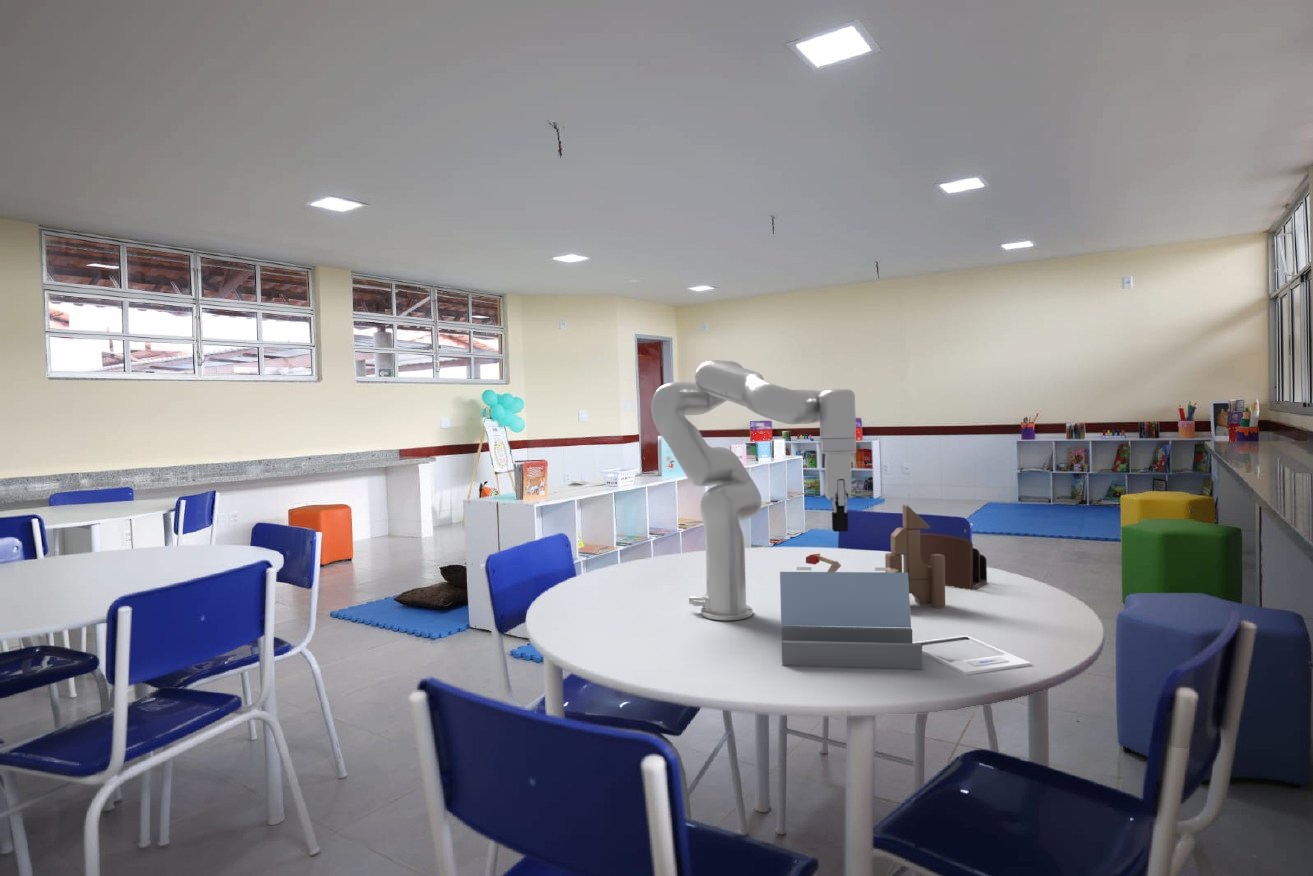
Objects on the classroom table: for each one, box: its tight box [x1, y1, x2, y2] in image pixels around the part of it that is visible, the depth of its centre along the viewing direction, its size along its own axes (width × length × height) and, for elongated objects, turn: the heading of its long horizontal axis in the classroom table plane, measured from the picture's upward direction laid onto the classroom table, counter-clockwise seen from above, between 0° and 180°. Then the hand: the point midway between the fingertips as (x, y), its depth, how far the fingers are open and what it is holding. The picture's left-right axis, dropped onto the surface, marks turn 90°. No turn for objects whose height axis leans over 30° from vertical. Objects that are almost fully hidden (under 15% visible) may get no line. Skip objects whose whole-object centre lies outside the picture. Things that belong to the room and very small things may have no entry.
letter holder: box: [902, 532, 988, 591], centre depth 204 cm, size 10×20×14 cm, turn 44°
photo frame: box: [912, 635, 1032, 676], centre depth 144 cm, size 15×1×18 cm
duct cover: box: [779, 566, 912, 629], centre depth 151 cm, size 26×12×2 cm
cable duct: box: [780, 625, 923, 670], centre depth 144 cm, size 26×11×4 cm, turn 81°
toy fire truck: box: [805, 553, 842, 572], centre depth 197 cm, size 3×14×10 cm, turn 58°
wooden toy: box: [884, 504, 946, 609], centre depth 180 cm, size 16×7×25 cm, turn 94°
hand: (840, 530), depth 158 cm, fingers closed
